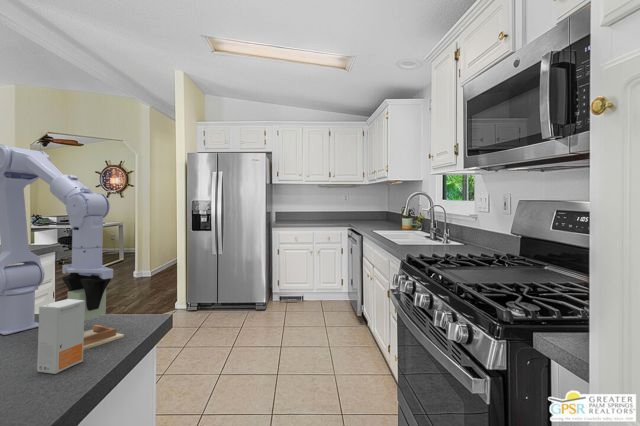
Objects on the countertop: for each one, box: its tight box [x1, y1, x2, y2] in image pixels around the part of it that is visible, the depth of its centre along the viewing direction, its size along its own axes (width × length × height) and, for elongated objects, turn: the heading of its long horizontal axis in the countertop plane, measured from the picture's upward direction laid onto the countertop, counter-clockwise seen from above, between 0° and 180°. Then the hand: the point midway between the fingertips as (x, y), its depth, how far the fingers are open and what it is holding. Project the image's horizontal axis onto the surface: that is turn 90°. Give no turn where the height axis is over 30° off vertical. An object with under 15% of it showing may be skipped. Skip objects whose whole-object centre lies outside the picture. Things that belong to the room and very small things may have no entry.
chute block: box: [67, 288, 107, 322], centre depth 80 cm, size 4×6×6 cm, turn 156°
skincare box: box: [36, 298, 85, 375], centre depth 67 cm, size 6×4×12 cm
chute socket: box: [83, 324, 125, 352], centre depth 80 cm, size 10×12×2 cm
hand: (86, 308), depth 80 cm, fingers closed on chute block, 4 cm apart
